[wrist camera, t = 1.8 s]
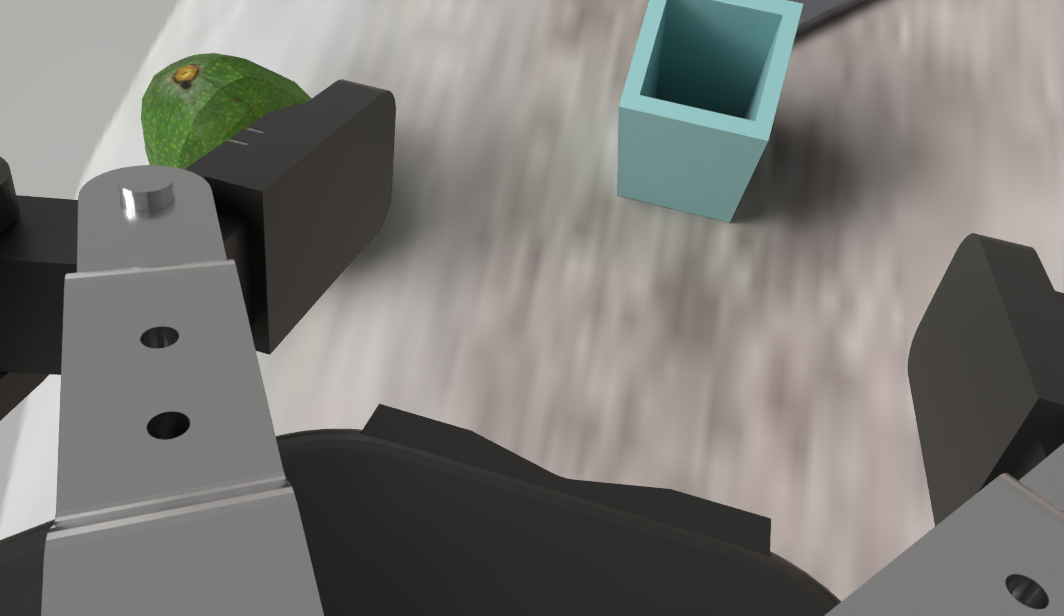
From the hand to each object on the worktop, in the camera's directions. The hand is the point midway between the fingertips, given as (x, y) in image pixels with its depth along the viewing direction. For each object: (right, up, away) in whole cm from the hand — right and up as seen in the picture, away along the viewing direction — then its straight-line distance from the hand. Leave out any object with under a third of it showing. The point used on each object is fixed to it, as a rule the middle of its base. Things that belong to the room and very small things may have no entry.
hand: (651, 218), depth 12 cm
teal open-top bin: (+6, +6, +28) cm, 30 cm away
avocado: (-13, +4, +30) cm, 33 cm away
